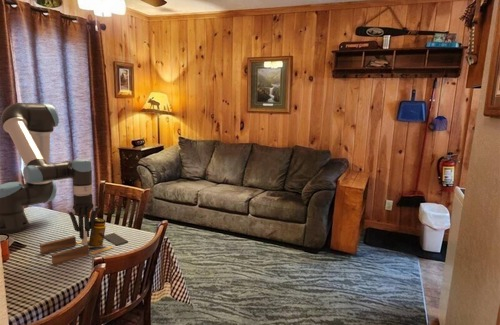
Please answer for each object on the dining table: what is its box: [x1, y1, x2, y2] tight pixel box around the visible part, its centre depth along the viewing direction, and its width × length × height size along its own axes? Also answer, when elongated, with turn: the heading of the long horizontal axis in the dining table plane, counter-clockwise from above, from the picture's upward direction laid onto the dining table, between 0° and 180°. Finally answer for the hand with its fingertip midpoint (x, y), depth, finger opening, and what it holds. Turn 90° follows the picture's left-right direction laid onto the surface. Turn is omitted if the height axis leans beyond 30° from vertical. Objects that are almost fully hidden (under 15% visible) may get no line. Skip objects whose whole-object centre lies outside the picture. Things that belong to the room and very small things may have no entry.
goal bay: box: [76, 238, 114, 255], centre depth 155 cm, size 17×10×1 cm, turn 49°
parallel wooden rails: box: [39, 235, 90, 266], centre depth 145 cm, size 16×14×4 cm
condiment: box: [87, 218, 107, 249], centre depth 154 cm, size 7×8×12 cm
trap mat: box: [104, 232, 129, 246], centre depth 162 cm, size 14×6×1 cm, turn 49°
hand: (84, 244), depth 150 cm, fingers closed
